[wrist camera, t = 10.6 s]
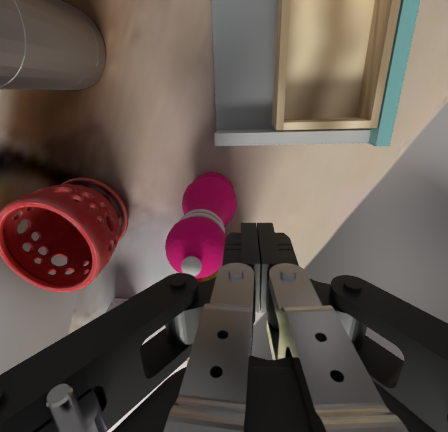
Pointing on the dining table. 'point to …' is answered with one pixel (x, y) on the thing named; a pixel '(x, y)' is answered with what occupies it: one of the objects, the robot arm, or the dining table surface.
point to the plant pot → (63, 233)
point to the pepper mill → (202, 226)
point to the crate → (331, 62)
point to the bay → (264, 77)
